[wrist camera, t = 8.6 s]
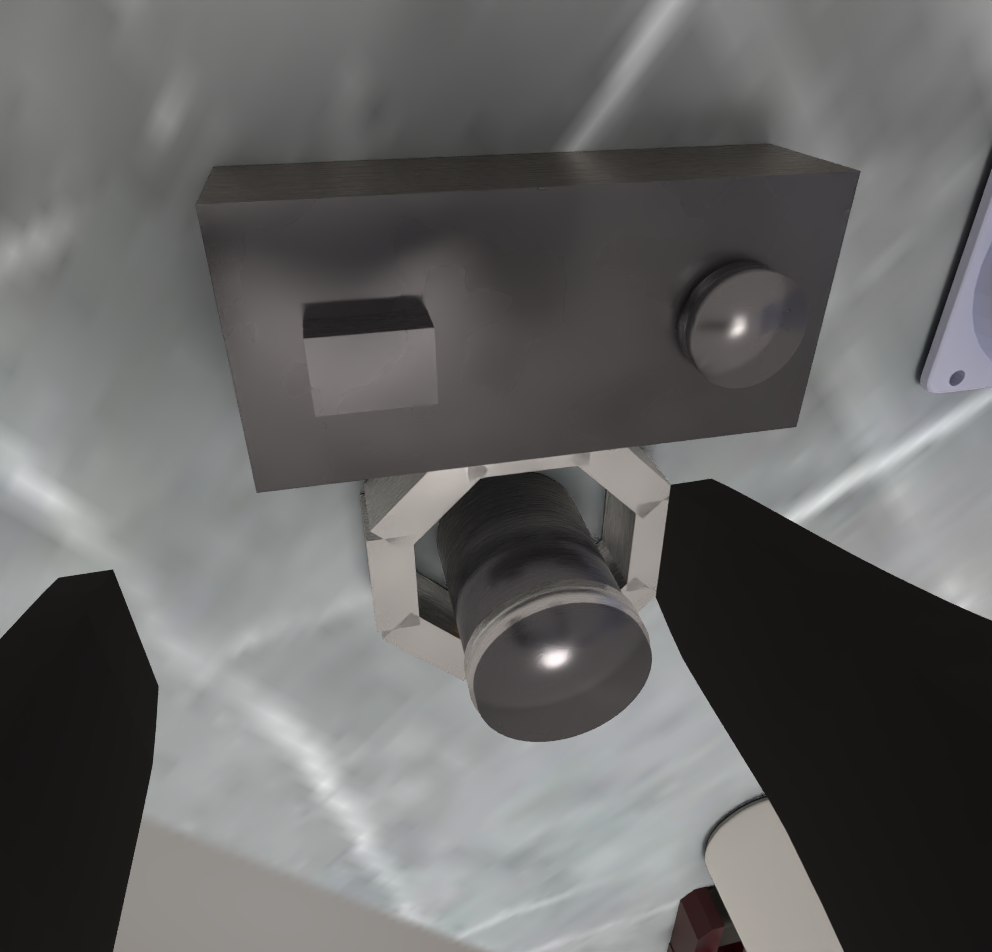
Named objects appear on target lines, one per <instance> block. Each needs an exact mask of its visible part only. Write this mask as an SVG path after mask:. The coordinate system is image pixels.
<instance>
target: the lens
mask: <svg viewBox="0 0 992 952" xmlns="http://www.w3.org/2000/svg"><path fill="white" fill-rule="evenodd" d="M437 547H438V551H439V555H440V559H441V563H442V567H443V571H444V575H445V579H446V583H447V587H448V591H449V595H450V599H451V603H452V607H453V611H454V615H455V619H456V623H457V627H458V631H459V635H460V639H461V643H462V647H463V651H464V671H465V675H466V680H467V684H468V688H469V692H470V696H471V700H472V702H473V704H474V706H475V708H476V709H477V710H478V712H479V713H480V715H481V717H482V718H483V719H484V721H485V722H486V723H487V724H488V725H489V726H490V727H491V728H492V729H494V730H495V731H497V732H498V733H500V734H502V735H504V736H507V737H510V738H513V739H516V740H522V741H530V742H547V741H556V740H561V739H566V738H570V737H574V736H577V735H580V734H583V733H585V732H588V731H590V730H592V729H595V728H597V727H599V726H601V725H602V724H604V723H606V722H608V721H609V720H611V719H612V718H614V717H615V716H616V715H618V714H619V713H620V712H621V711H623V710H624V709H625V708H626V707H627V706H628V705H629V704H630V703H631V702H632V701H633V700H634V699H635V698H636V696H637V695H638V694H639V693H640V691H641V690H642V688H643V686H644V685H645V683H646V681H647V678H648V676H649V673H650V670H651V663H652V653H651V648H650V640H649V635H648V632H647V630H646V628H645V626H644V624H643V622H642V620H641V618H640V617H639V615H638V613H637V611H636V609H635V607H634V606H633V604H632V603H631V602H630V600H629V599H628V598H627V597H626V596H625V595H624V594H623V593H622V592H621V590H620V588H619V586H618V584H617V582H616V581H615V579H614V577H613V575H612V573H611V571H610V569H609V568H608V566H607V564H606V562H605V560H604V558H603V556H602V555H601V553H600V551H599V549H598V547H597V545H596V543H595V541H594V540H593V538H592V536H591V534H590V532H589V530H588V528H587V527H586V525H585V523H584V521H583V519H582V517H581V515H580V514H579V512H578V510H577V508H576V506H575V504H574V502H573V501H572V499H571V497H570V496H569V494H568V493H567V491H566V490H565V489H564V488H563V487H562V486H561V485H560V484H558V483H557V482H556V481H554V480H552V479H550V478H548V477H546V476H543V475H540V474H536V473H532V472H524V473H516V474H508V475H500V476H492V477H487V478H484V479H482V480H480V481H478V482H476V483H475V484H474V485H473V486H472V487H471V488H470V489H469V490H468V491H467V492H466V493H465V494H464V495H463V496H462V497H461V498H460V499H459V500H458V501H457V502H456V503H455V504H454V505H453V506H452V507H451V508H450V509H449V510H448V511H447V512H446V513H445V514H444V515H443V516H442V518H441V521H440V523H439V527H438V531H437Z"/></svg>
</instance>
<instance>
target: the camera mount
mask: <svg viewBox="0 0 992 952" xmlns="http://www.w3.org/2000/svg"><path fill="white" fill-rule="evenodd" d="M859 175H860V171H859V170H855V169H852V168H849V167H845V166H842V165H839V164H835V163H832V162H829V161H825V160H822V159H819V158H815V157H812V156H809V155H806V154H802V153H799V152H796V151H792V150H789V149H786V148H782V147H779V146H776V145H772V144H754V145H730V146H706V147H682V148H658V149H633V150H609V151H585V152H561V153H536V154H512V155H488V156H464V157H440V158H415V159H391V160H367V161H343V162H319V163H294V164H270V165H246V166H222V167H213V169H212V171H211V173H210V175H209V177H208V179H207V181H206V184H205V186H204V188H203V190H202V192H201V194H200V196H199V198H198V200H197V203H196V209H197V214H198V218H199V223H200V228H201V232H202V237H203V242H204V247H205V251H206V256H207V261H208V265H209V270H210V275H211V280H212V284H213V289H214V294H215V298H216V303H217V308H218V312H219V317H220V322H221V327H222V331H223V336H224V341H225V345H226V350H227V355H228V360H229V364H230V369H231V374H232V378H233V383H234V388H235V392H236V397H237V402H238V407H239V411H240V416H241V421H242V425H243V430H244V435H245V440H246V444H247V449H248V454H249V458H250V463H251V468H252V472H253V477H254V482H255V487H256V491H257V493H260V492H268V491H276V490H284V489H292V488H301V487H309V486H317V485H325V484H333V483H341V482H350V481H358V480H366V479H368V480H367V481H366V483H365V484H364V492H365V494H360V499H361V507H362V515H363V524H364V532H365V540H366V548H367V557H368V565H369V573H370V581H371V589H372V596H373V604H374V611H375V619H376V626H377V632H381V631H382V637H383V640H385V641H387V642H389V643H391V644H393V645H395V646H397V647H399V648H401V649H403V650H405V651H407V652H408V653H410V654H412V655H414V656H416V657H418V658H420V659H422V660H424V661H426V662H428V663H430V664H432V665H434V666H436V667H438V668H440V669H442V670H444V671H446V672H448V673H450V674H451V675H453V676H455V677H457V678H459V679H461V680H463V681H464V680H465V679H466V675H465V671H464V651H463V647H462V643H461V639H460V635H459V631H458V627H457V623H456V619H455V615H454V611H453V607H452V603H451V599H450V595H449V591H448V590H446V589H444V588H443V587H441V586H439V585H438V584H436V583H434V582H433V581H431V580H429V579H428V578H426V577H424V576H423V575H421V574H419V573H417V572H416V568H415V555H414V544H415V543H416V542H417V541H418V540H419V539H420V538H421V537H422V536H423V535H424V534H425V533H426V532H427V531H428V530H429V529H430V528H431V527H432V526H433V525H434V524H435V523H436V522H437V521H438V520H439V519H440V518H441V517H442V516H443V515H444V514H445V513H446V512H447V511H448V510H449V509H450V508H451V507H452V506H453V505H454V504H455V503H456V502H457V501H458V500H459V499H460V498H461V497H462V496H463V495H464V494H465V493H466V492H467V491H468V490H469V489H470V488H471V487H472V486H473V485H474V484H475V483H476V482H477V481H478V480H479V479H480V478H484V477H492V476H500V475H508V474H516V473H524V472H532V471H540V470H548V469H556V468H564V467H572V466H579V467H580V468H581V469H582V470H583V471H585V472H586V473H587V474H588V475H590V476H591V477H592V478H593V479H594V480H596V481H597V482H598V483H599V484H601V485H602V486H603V487H604V488H606V489H607V491H606V502H605V512H604V522H603V533H602V540H601V541H600V542H598V543H597V544H596V545H597V547H598V549H599V551H600V553H601V555H602V556H603V558H604V560H605V562H606V564H607V566H608V568H609V569H610V571H611V573H612V575H613V577H614V579H615V581H616V582H617V584H618V586H619V588H620V590H621V592H622V593H623V594H624V595H625V596H626V597H627V598H628V599H629V600H630V602H631V603H632V604H633V606H634V607H635V609H636V611H637V612H638V611H640V610H641V609H642V608H643V607H644V606H645V605H647V604H648V603H649V602H650V601H651V600H652V599H654V598H655V597H656V589H655V588H654V587H657V583H658V575H659V568H660V560H661V553H662V546H663V538H664V531H665V523H666V516H667V509H668V501H669V494H670V486H671V484H670V483H669V482H668V480H667V479H666V478H665V476H664V475H663V474H662V473H661V471H660V470H659V469H658V467H657V466H656V465H655V464H654V462H653V461H652V460H651V458H650V457H649V456H648V455H647V453H646V452H645V451H644V450H643V449H642V448H641V447H640V446H644V445H652V444H660V443H668V442H677V441H685V440H693V439H701V438H709V437H717V436H726V435H734V434H742V433H750V432H758V431H767V430H775V429H783V428H791V427H796V426H797V422H798V418H799V414H800V410H801V406H802V402H803V398H804V394H805V390H806V386H807V382H808V378H809V374H810V370H811V366H812V362H813V358H814V354H815V350H816V346H817V342H818V338H819V334H820V330H821V326H822V322H823V318H824V314H825V310H826V306H827V302H828V298H829V294H830V290H831V286H832V282H833V278H834V274H835V270H836V266H837V262H838V258H839V254H840V250H841V246H842V242H843V238H844V234H845V230H846V226H847V222H848V218H849V214H850V210H851V206H852V203H853V199H854V195H855V191H856V187H857V183H858V179H859Z"/></svg>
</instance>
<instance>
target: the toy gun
mask: <svg viewBox="0 0 992 952" xmlns="http://www.w3.org/2000/svg"><path fill="white" fill-rule="evenodd" d="M667 952H746V949H745V947H744V945H743V943H742V941H741V939H740V937H739V935H738V933H737V930H736V928H735V926H734V924H733V922H732V920H731V918H730V916H729V914H728V911H727V909H726V907H725V905H724V903H723V901H722V899H721V897H720V894H719V892H718V890H717V888H716V886H715V887H711V888H707V887H703V888H699V889H695V890H693V891H692V892H691V893H689V894H688V895H686V896H685V897H684V898H682V899H681V900H680V904H679V908H678V912H677V916H676V920H675V924H674V928H673V932H672V937H671V941H670V943H669V946H668V950H667Z"/></svg>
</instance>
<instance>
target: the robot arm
mask: <svg viewBox="0 0 992 952" xmlns="http://www.w3.org/2000/svg"><path fill="white" fill-rule="evenodd" d="M952 374H954V375H953V376H952ZM951 376H952V377H951ZM950 377H951V378H950ZM920 383H921V386H922V387H923V388H924V389H926V390H927V391H929V392H930V393H934V394H939V393H947V392H956V391H964V390H973V389H981V388H990V387H992V170H991V173H990V176H989V178H988V181H987V184H986V187H985V190H984V193H983V196H982V199H981V202H980V205H979V208H978V211H977V214H976V217H975V220H974V222H973V225H972V228H971V231H970V234H969V237H968V240H967V243H966V246H965V249H964V252H963V255H962V258H961V261H960V264H959V266H958V269H957V272H956V275H955V278H954V281H953V284H952V287H951V290H950V293H949V296H948V299H947V302H946V305H945V307H944V310H943V313H942V316H941V319H940V322H939V325H938V328H937V331H936V334H935V337H934V340H933V343H932V346H931V349H930V351H929V354H928V357H927V360H926V363H925V366H924V369H923V372H922V375H921V379H920ZM656 599H657V601H658V603H659V606H660V608H661V611H662V613H663V615H664V618H665V620H666V622H667V625H668V627H669V630H670V632H671V634H672V636H673V638H674V641H675V643H676V645H677V647H678V649H679V651H680V654H681V656H682V658H683V660H684V662H685V663H686V665H687V667H688V668H689V670H690V672H691V673H692V675H693V677H694V678H695V680H696V682H697V683H698V685H699V687H700V688H701V690H702V692H703V693H704V695H705V697H706V698H707V700H708V702H709V703H710V705H711V707H712V708H713V710H714V712H715V713H716V715H717V716H718V718H719V720H720V721H721V723H722V725H723V726H724V728H725V729H726V731H727V733H728V734H729V736H730V738H731V739H732V741H733V742H734V744H735V746H736V747H737V749H738V751H739V752H740V754H741V755H742V757H743V759H744V760H745V762H746V764H747V765H748V767H749V768H750V770H751V772H752V773H753V775H754V777H755V778H756V780H757V781H758V783H759V785H760V786H761V788H762V790H763V791H764V793H765V794H766V796H767V798H768V799H769V801H770V803H771V805H772V807H773V808H774V810H775V812H776V814H777V816H778V817H779V819H780V821H781V823H782V824H783V826H784V828H785V830H786V832H787V834H788V836H789V838H790V840H791V842H792V844H793V846H794V848H795V850H796V852H797V854H798V856H799V858H800V860H801V862H802V864H803V866H804V869H805V871H806V873H807V875H808V877H809V879H810V881H811V883H812V885H813V887H814V889H815V891H816V893H817V895H818V897H819V899H820V901H821V903H822V905H823V908H824V910H825V912H826V914H827V916H828V919H829V921H830V923H831V925H832V927H833V929H834V932H835V934H836V936H837V938H838V940H839V943H840V945H841V947H842V949H843V951H844V952H992V621H991V620H989V619H986V618H984V617H982V616H979V615H977V614H974V613H972V612H970V611H968V610H965V609H963V608H961V607H959V606H957V605H954V604H952V603H950V602H948V601H945V600H943V599H941V598H939V597H937V596H935V595H933V594H931V593H929V592H927V591H925V590H923V589H920V588H918V587H916V586H914V585H912V584H910V583H908V582H906V581H904V580H902V579H900V578H898V577H896V576H894V575H891V574H890V573H888V572H886V571H884V570H882V569H880V568H878V567H876V566H874V565H872V564H870V563H868V562H866V561H864V560H862V559H860V558H859V557H857V556H855V555H853V554H851V553H849V552H847V551H845V550H843V549H842V548H840V547H838V546H836V545H834V544H832V543H830V542H829V541H827V540H825V539H823V538H821V537H819V536H818V535H816V534H814V533H812V532H810V531H809V530H807V529H805V528H803V527H801V526H800V525H798V524H796V523H794V522H792V521H791V520H789V519H787V518H785V517H783V516H782V515H780V514H778V513H776V512H774V511H773V510H771V509H769V508H767V507H765V506H764V505H762V504H760V503H758V502H756V501H754V500H753V499H751V498H749V497H747V496H745V495H743V494H741V493H740V492H738V491H736V490H734V489H732V488H730V487H728V486H726V485H724V484H722V483H720V482H717V481H715V480H713V479H706V480H700V481H693V482H687V483H680V484H673V485H671V486H670V494H669V501H668V509H667V516H666V523H665V531H664V538H663V546H662V553H661V560H660V568H659V575H658V583H657V590H656ZM158 687H159V686H158V684H157V681H156V679H155V676H154V674H153V671H152V668H151V666H150V663H149V661H148V658H147V656H146V653H145V650H144V648H143V645H142V643H141V640H140V638H139V635H138V632H137V630H136V627H135V625H134V622H133V620H132V617H131V615H130V612H129V609H128V607H127V604H126V602H125V599H124V597H123V594H122V591H121V589H120V586H119V584H118V581H117V579H116V576H115V573H114V571H113V570H107V571H100V572H94V573H87V574H80V575H74V576H67V577H61V578H58V579H57V580H56V581H55V582H54V583H53V584H52V585H51V586H50V587H49V588H48V589H47V590H46V591H45V592H44V593H43V594H42V595H41V596H40V597H39V598H38V599H37V600H36V601H35V602H34V603H33V604H32V605H31V606H30V607H29V609H28V610H27V611H26V612H25V613H24V614H23V615H22V616H21V617H20V618H19V619H18V620H17V621H16V623H15V624H14V625H13V626H12V627H11V628H10V629H9V630H8V631H7V632H6V633H5V634H4V635H3V637H2V638H1V639H0V952H113V949H114V944H115V939H116V935H117V930H118V926H119V921H120V916H121V911H122V906H123V903H124V898H125V893H126V889H127V884H128V879H129V875H130V870H131V865H132V860H133V856H134V851H135V846H136V842H137V838H138V833H139V828H140V823H141V819H142V814H143V809H144V804H145V799H146V795H147V790H148V785H149V780H150V775H151V770H152V765H153V754H154V743H155V732H156V718H157V703H158Z"/></svg>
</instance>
